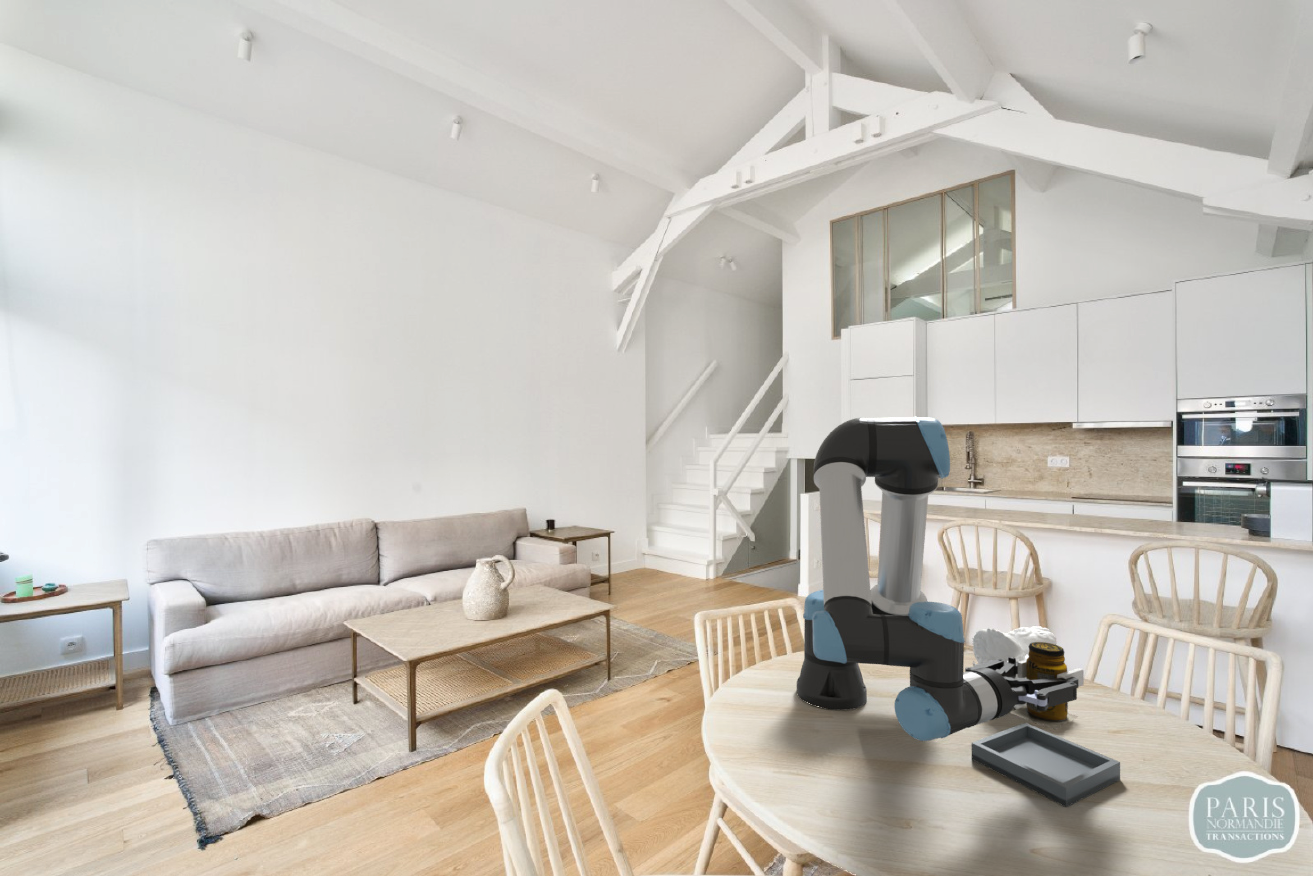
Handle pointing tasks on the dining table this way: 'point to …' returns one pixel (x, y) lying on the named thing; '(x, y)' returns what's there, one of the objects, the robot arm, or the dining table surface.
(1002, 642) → the white lumpy sculpture
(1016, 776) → the tray
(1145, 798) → the dining table surface
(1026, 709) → the condiment
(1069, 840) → the dining table surface
